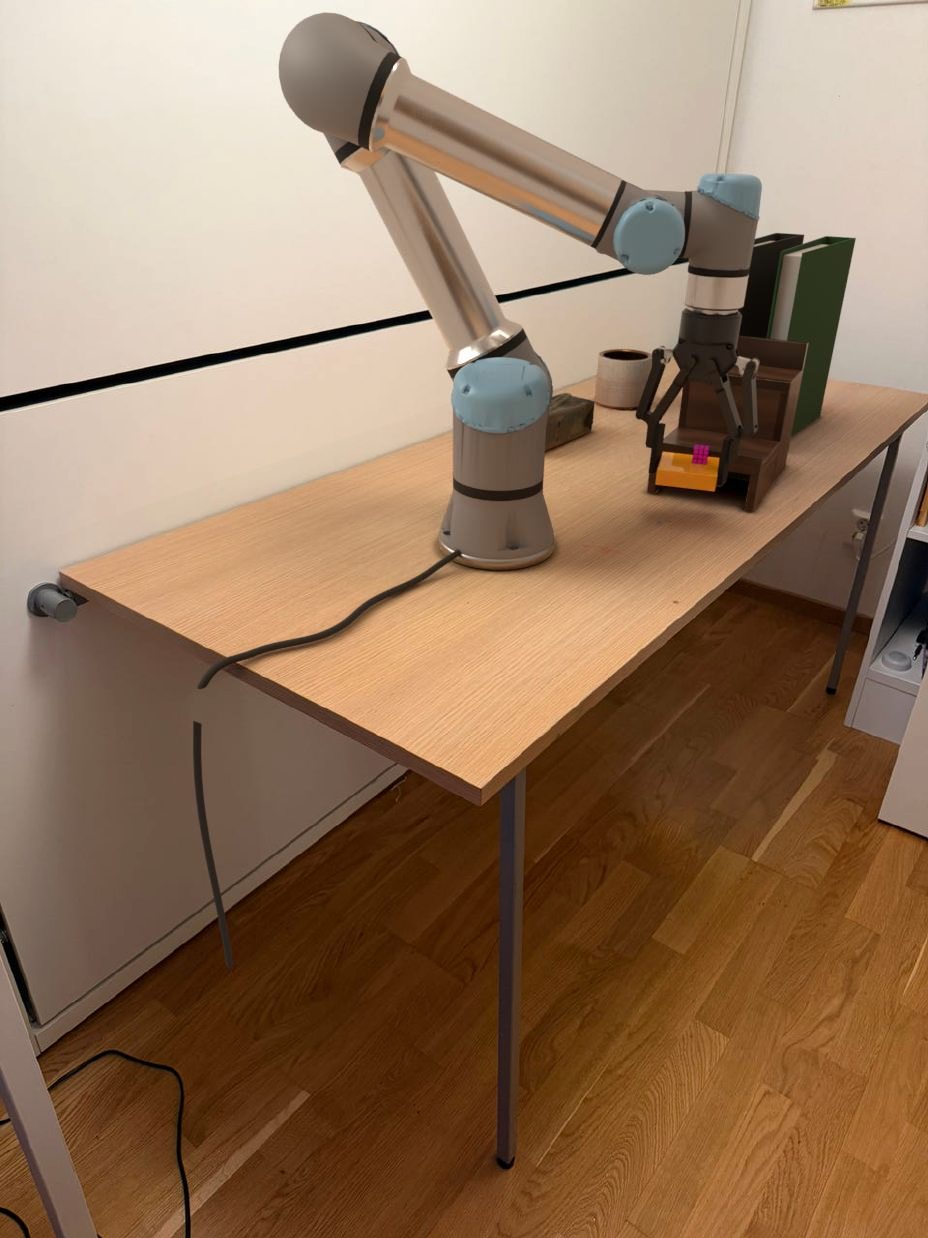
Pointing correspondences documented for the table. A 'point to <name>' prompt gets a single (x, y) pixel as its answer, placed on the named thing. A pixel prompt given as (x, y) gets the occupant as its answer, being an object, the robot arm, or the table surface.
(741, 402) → the step shelf
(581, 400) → the beverage carton
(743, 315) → the books
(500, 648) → the table surface
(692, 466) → the orange slab
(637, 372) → the planter
